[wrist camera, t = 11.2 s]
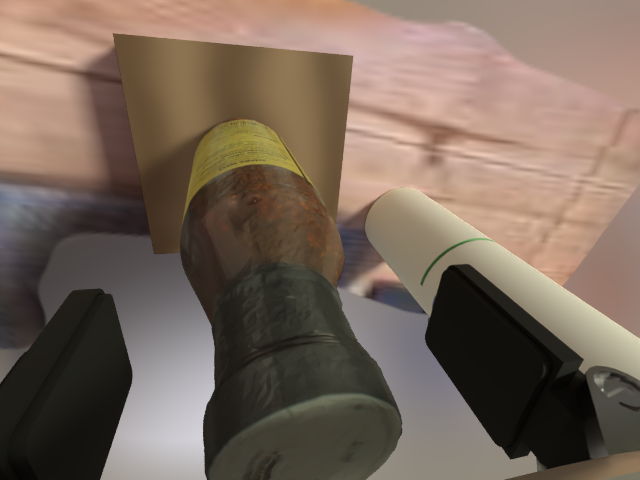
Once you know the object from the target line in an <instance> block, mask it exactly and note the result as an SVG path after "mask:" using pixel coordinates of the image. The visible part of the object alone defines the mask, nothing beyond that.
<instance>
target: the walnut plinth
mask: <svg viewBox="0 0 640 480" xmlns="http://www.w3.org/2000/svg"><path fill="white" fill-rule="evenodd" d="M113 37H114V43H115V48H116V53H117V59H118V64H119V69H120V75H121V80H122V85H123V91H124V96H125V101H126V107H127V112H128V117H129V123H130V128H131V133H132V139H133V144H134V149H135V155H136V160H137V165H138V171H139V176H140V181H141V187H142V192H143V197H144V203H145V208H146V213H147V219H148V224H149V229H150V235H151V240H152V245H153V251H154V254H165V253H180V237H181V229H182V222H183V216H184V210H185V204H186V199H187V194H188V188H189V183H190V178H191V172H192V166H193V161H194V156H195V152H196V150H197V147H198V145H199V143H200V142H201V140H202V138H203V136H204V135H205V134H206V133H207V132H208V131H209V130H210V129H211V128H213V127H215V126H216V125H218V124H220V123H222V122H223V121H226V120H228V119H230V118H244V119H250V120H255V121H258V122H261V123H263V124H264V125H266V126H268V127H270V128H271V129H272V130H274V132H275V133H276V134H277V136H278V137H281V138H282V140H283V141H284V143H285V144H286V146H287V147H288V149H289V150H290V151H291V153H292V154H293V156H294V157H295V159H296V160H297V162H298V163H299V165H300V166H301V168H302V169H303V170H304V172H305V173H306V175H307V176H308V178H309V179H310V181H311V182H312V184H313V185H314V187H315V188H316V189H317V191H318V193H319V194H320V196H321V198H322V200H323V202H324V206H325V208H326V209H327V210H328V212H329V214H330V215H331V216H332V218H333V220H334V222H335V224H336V218H337V208H338V199H339V189H340V179H341V170H342V160H343V150H344V140H345V131H346V121H347V111H348V102H349V92H350V82H351V72H352V63H353V56H349V55H339V54H328V53H317V52H306V51H296V50H285V49H274V48H264V47H253V46H242V45H231V44H221V43H210V42H199V41H188V40H178V39H167V38H156V37H146V36H135V35H124V34H113Z"/></svg>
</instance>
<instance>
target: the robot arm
mask: <svg viewBox="0 0 640 480" xmlns="http://www.w3.org/2000/svg"><path fill="white" fill-rule="evenodd" d="M425 340H426V344H427V346H428V348H429V349H430V351H431V352H432V353H433V355H434V356H435V358H436V359H437V361H438V362H439V364H440V365H441V366H442V368H443V369H444V371H445V372H446V374H447V375H448V377H449V378H450V379H451V381H452V382H453V383H454V385H455V386H456V388H457V389H458V391H459V392H460V394H461V395H462V397H463V398H464V399H465V401H466V402H467V404H468V405H469V407H470V408H471V410H472V411H473V413H474V414H475V415H476V417H477V418H478V420H479V421H480V422H481V424H482V426H483V427H484V428H485V430H486V431H487V433H488V434H489V436H490V437H491V438H492V440H493V441H494V442H495V444H497V445H498V446H500V447H502V448H503V450H504V451H505V453H506V454H507V455H508V457H509V458H510V459H515V458H519V457H523V456H527V455H528V454H529V452H530V451H532V452H533V454H534V455H535V456H536V458H537V471H538V472H534V473H531V474H526V475H522V476H518V477H514V478H510V479H506V480H640V380H638V379H636V378H634V377H632V376H631V375H629V374H627V373H624V372H622V371H620V370H617V369H614V368H610V367H606V366H593V367H590V368H589V369H588V370H587V371H586V373H585V374H583V373H582V372H581V371H580V370H579V367H580V366H581V364H582V362H583V361H584V359H583V358H582V357H580V356H579V355H578V354H577V353H576V352H574V351H573V350H572V349H571V348H570V347H568V346H567V345H566V344H565V343H564V342H562V341H561V340H560V339H559V338H558V337H556V336H555V335H554V334H553V333H552V332H550V331H549V330H548V329H547V328H546V327H544V326H543V325H542V324H541V323H540V322H538V321H537V320H536V319H535V318H534V317H532V316H531V315H530V314H529V313H528V312H526V311H525V310H524V309H523V308H522V307H520V306H519V305H518V304H517V303H516V302H514V301H513V300H512V299H511V298H510V297H508V296H507V295H506V294H505V293H504V292H502V291H501V290H500V289H499V288H498V287H496V286H495V285H494V284H493V283H492V282H490V281H489V280H488V279H487V278H486V277H484V276H483V275H482V274H481V273H480V272H478V271H477V270H476V269H475V268H474V267H472V266H471V265H469V264H457V265H450V266H448V268H447V269H446V270H444V271H443V273H442V276H441V280H440V283H439V287H438V290H437V294H436V298H435V301H434V305H433V308H432V312H431V316H430V317H429V319H428V327H427V330H426V334H425ZM131 384H132V368H131V364H130V360H129V357H128V353H127V349H126V346H125V341H124V338H123V334H122V330H121V326H120V323H119V319H118V315H117V311H116V308H115V304H114V300H113V297H112V295H111V294H105V293H104V291H103V290H102V289H86V290H75V291H72V292H71V293H70V294H69V296H68V297H67V298H66V300H65V301H64V302H63V304H62V305H61V306H60V308H59V309H58V311H57V312H56V313H55V315H54V316H53V318H52V319H51V320H50V321H49V323H48V324H47V325H46V327H45V328H44V329H43V331H42V332H41V334H40V335H39V336H38V338H37V339H36V340H35V342H34V343H33V344H32V346H31V347H30V348H29V350H28V351H27V352H25V353H24V354H23V355H22V356H21V357H20V358H19V359H18V361H17V362H16V363H15V365H14V366H13V367H12V369H11V370H10V371H9V373H8V374H7V375H6V377H5V378H4V379H3V381H2V382H1V384H0V480H100V478H101V475H102V472H103V469H104V466H105V463H106V460H107V457H108V454H109V451H110V448H111V445H112V441H113V439H114V436H115V433H116V430H117V427H118V424H119V420H120V417H121V414H122V411H123V408H124V405H125V402H126V399H127V396H128V393H129V390H130V387H131Z"/></svg>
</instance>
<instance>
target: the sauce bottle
mask: <svg viewBox="0 0 640 480" xmlns="http://www.w3.org/2000/svg"><path fill="white" fill-rule="evenodd" d="M180 253H181V260H182V265H183V268H184V271H185V274H186V276H187V278H188V280H189V281H190V284H191V286H192V288H193V290H194V291H195V293H196V295H197V297H198V299H199V301H200V303H201V305H202V307H203V309H204V311H205V313H206V315H207V317H208V319H209V321H210V323H211V326H212V334H213V339H214V345H215V357H214V363H215V364H214V366H215V370H214V380H215V390H214V392H213V394H212V396H211V399H210V401H209V402H208V404H207V407H206V411H205V415H204V420H203V441H204V453H205V475H206V477H207V480H366V479H367V478H368V477H369V476H370V475H372V474H373V473H374V472H375V471H376V470H378V469H379V468H380V467H381V466H382V465H383V464H384V463H385V462H386V461H387V459H388V458H389V456H390V455H391V454H392V452H393V451H394V450H395V448H396V446H397V442H398V440H399V438H400V436H401V434H402V427H401V426H402V420H401V415H400V412H399V409H398V407H397V404H396V402H395V400H394V397H393V395H392V393H391V391H390V389H389V387H388V385H387V383H386V380H385V378H384V376H383V374H382V371H381V369H380V367H379V366H378V364H377V362H376V361H375V360H374V359H373V358H371V357H370V355H369V354H368V353H367V351H366V350H365V349H364V348H363V347H362V346H361V345H360V343H359V342H357V339H356V338H355V335H354V333H353V331H352V329H351V327H350V324H349V322H348V320H347V318H346V317H345V315H344V313H343V311H342V302H341V300H340V297H339V293H338V291H337V283H338V280H339V279H340V277H341V273H342V270H343V266H344V261H345V254H344V250H343V246H342V241H341V237H340V234H339V231H338V229H337V226H336V224H335V222H334V220H333V218H332V216H331V215H330V214H329V212H328V210H327V209H326V208H325V206H324V202H323V200H322V198H321V196H320V194H319V193H318V191H317V189H316V188H315V187H314V185H313V184H312V182H311V181H310V179H309V178H308V176H307V175H306V173H305V172H304V170H303V169H302V168H301V166H300V165H299V163H298V162H297V160H296V159H295V157H294V156H293V154H292V153H291V151H290V150H289V149H288V147H287V146H286V144H285V143H284V141H283V140H282V138H281V137H278V136H277V134H276V133H275V132H274V130H272V129H271V128H270V127H268V126H266V125H264V124H263V123H261V122H258V121H255V120H250V119H244V118H230V119H228V120H226V121H223V122H222V123H220V124H218V125H216V126H215V127H213V128H211V129H210V130H209V131H208V132H207V133H206V134H205V135H204V136H203V138H202V140H201V142H200V143H199V145H198V147H197V150H196V152H195V156H194V161H193V166H192V172H191V178H190V183H189V188H188V194H187V199H186V204H185V210H184V216H183V222H182V229H181V237H180Z"/></svg>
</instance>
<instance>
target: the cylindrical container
mask: <svg viewBox="0 0 640 480" xmlns="http://www.w3.org/2000/svg"><path fill="white" fill-rule="evenodd" d="M365 232H366V235H367V238H368V240H369V241H370V243H371V244H372V245H373V247H374V248H375V249H376V250H377V252H378V253H379V254H380V255H381V257H382V258H383V259H384V260H385V262H386V263H387V264H388V265H389V267H390V268H391V269H392V270H393V272H394V273H395V274H396V275H397V277H398V278H399V279H400V281H401V282H402V283H403V284H404V286H405V287H406V288H407V289H408V291H409V292H410V293H411V294H412V296H413V297H414V298H415V299H416V301H417V302H418V303H419V304H420V306H421V307H422V308H423V310H424V311H425V312H426V313H427V315H428V316H429V317H430V316H431V312H432V308H433V305H434V301H435V298H436V294H437V290H438V287H439V283H440V280H441V276H442V273H443V271H444V270H446V269H447V268H448V266H450V265H457V264H469V265H471V266H472V267H474V268H475V269H476V270H477V271H478V272H480V273H481V274H482V275H483V276H484V277H486V278H487V279H488V280H489V281H490V282H492V283H493V284H494V285H495V286H496V287H498V288H499V289H500V290H501V291H502V292H504V293H505V294H506V295H507V296H508V297H510V298H511V299H512V300H513V301H514V302H516V303H517V304H518V305H519V306H520V307H522V308H523V309H524V310H525V311H526V312H528V313H529V314H530V315H531V316H532V317H534V318H535V319H536V320H537V321H538V322H540V323H541V324H542V325H543V326H544V327H546V328H547V329H548V330H549V331H550V332H552V333H553V334H554V335H555V336H556V337H558V338H559V339H560V340H561V341H562V342H564V343H565V344H566V345H567V346H568V347H570V348H571V349H572V350H573V351H574V352H576V353H577V354H578V355H579V356H580V357H582V358H583V359H584V361H583V362H582V364H581V366H580V367H579V370H580V371H581V372H582V373H583V374H585V373H586V371H587V370H588V369H589V368H590V367H593V366H606V367H610V368H614V369H617V370H620V371H622V372H624V373H627V374H629V375H631V376H632V377H634V378H636V379H638V380H640V339H639V338H638V337H636V336H635V335H633V334H632V333H630V332H629V331H627V330H625V329H624V328H623V327H621V326H620V325H618V324H617V323H615V322H614V321H612V320H611V319H609V318H607V317H606V316H605V315H603V314H602V313H600V312H599V311H597V310H596V309H594V308H593V307H591V306H590V305H588V304H587V303H585V302H584V301H582V300H581V299H579V298H578V297H576V296H575V295H573V294H572V293H570V292H569V291H567V290H566V289H565V288H563V287H562V286H560V285H559V284H557V283H556V282H554V281H553V280H551V279H550V278H548V277H547V276H545V275H544V274H542V273H541V272H539V271H538V270H536V269H535V268H533V267H532V266H530V265H529V264H527V263H526V262H524V261H523V260H521V259H520V258H518V257H517V256H515V255H514V254H512V253H511V252H509V251H508V250H506V249H505V248H503V247H502V246H500V245H499V244H497V243H496V242H494V241H493V240H491V239H490V238H488V237H487V236H485V235H484V234H483V233H481V232H480V231H478V230H477V229H475V228H474V227H472V226H471V225H469V224H468V223H466V222H465V221H463V220H462V219H460V218H459V217H457V216H456V215H454V214H453V213H451V212H450V211H448V210H447V209H445V208H444V207H442V206H441V205H439V204H438V203H436V202H435V201H433V200H432V199H430V198H429V197H427V196H426V195H424V194H423V193H421V192H420V191H418V190H416V189H414V188H409V187H401V188H396V189H393V190H391V191H388V192H387V193H385V194H384V195H382V196H381V197H380V198H379V199H378V200H376V201H375V203H374V204H373V205H372V207H371V208H370V210H369V212H368V214H367V218H366V222H365Z"/></svg>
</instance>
